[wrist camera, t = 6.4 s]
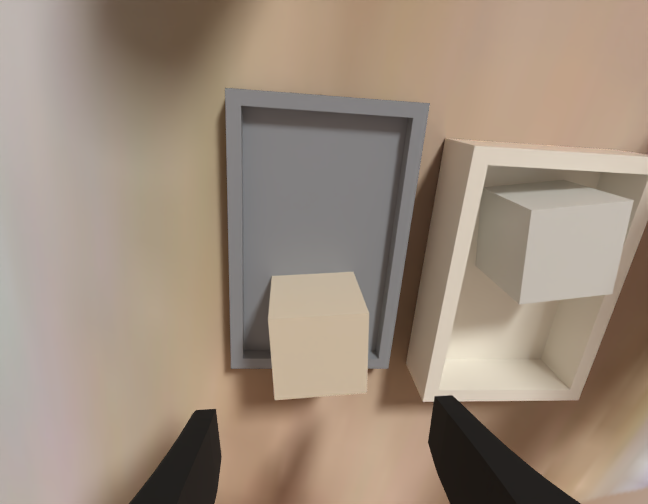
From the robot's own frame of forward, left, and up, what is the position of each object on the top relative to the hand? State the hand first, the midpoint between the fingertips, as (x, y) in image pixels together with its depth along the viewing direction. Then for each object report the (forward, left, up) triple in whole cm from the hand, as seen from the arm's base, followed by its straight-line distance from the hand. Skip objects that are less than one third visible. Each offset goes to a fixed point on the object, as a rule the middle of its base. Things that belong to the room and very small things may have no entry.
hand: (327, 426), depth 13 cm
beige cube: (0, 0, -8) cm, 8 cm away
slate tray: (0, -4, -8) cm, 9 cm away
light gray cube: (-10, -5, -8) cm, 13 cm away
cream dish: (-10, -3, -8) cm, 13 cm away
